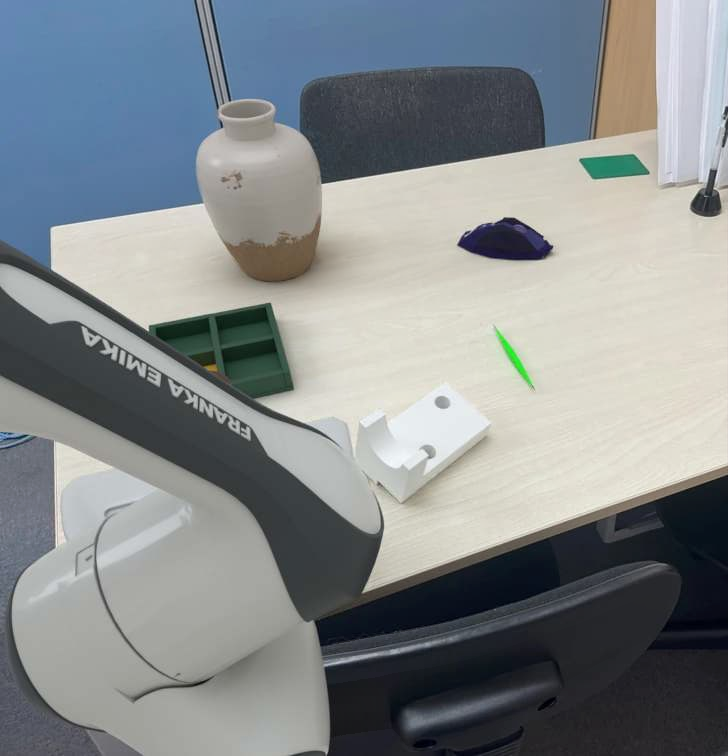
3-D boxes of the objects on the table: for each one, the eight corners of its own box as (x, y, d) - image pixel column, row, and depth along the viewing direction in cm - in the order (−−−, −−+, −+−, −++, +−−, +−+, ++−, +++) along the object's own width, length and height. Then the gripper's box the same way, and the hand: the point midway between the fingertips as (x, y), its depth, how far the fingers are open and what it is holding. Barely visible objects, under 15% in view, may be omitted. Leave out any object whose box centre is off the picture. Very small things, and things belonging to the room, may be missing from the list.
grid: (160, 420, 80) (152, 401, 78) (154, 342, 90) (148, 325, 88) (294, 389, 84) (290, 371, 82) (274, 319, 94) (270, 302, 92)
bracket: (399, 508, 73) (409, 470, 67) (354, 462, 75) (359, 421, 69) (484, 440, 80) (499, 401, 74) (441, 400, 82) (452, 359, 76)
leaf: (531, 393, 85) (531, 388, 84) (489, 326, 94) (489, 321, 94) (538, 392, 85) (538, 386, 84) (495, 325, 95) (496, 320, 94)
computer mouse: (470, 222, 115) (470, 200, 113) (559, 238, 113) (562, 215, 110) (452, 251, 109) (451, 227, 106) (546, 268, 106) (548, 244, 103)
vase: (212, 249, 107) (170, 95, 92) (315, 228, 112) (292, 80, 97) (234, 305, 96) (190, 142, 81) (347, 278, 102) (326, 121, 87)
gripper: (375, 482, 49) (333, 361, 59) (43, 572, 43) (56, 421, 52) (382, 537, 53) (341, 416, 63) (80, 627, 47) (86, 477, 57)
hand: (209, 419), depth 58 cm, fingers closed on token, 4 cm apart
